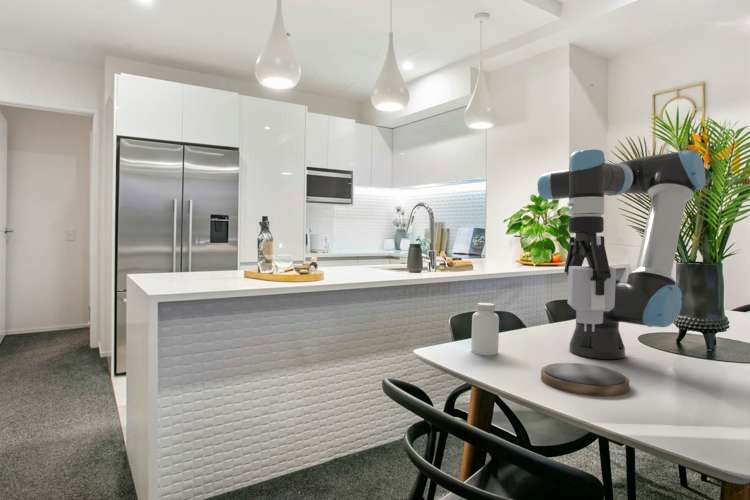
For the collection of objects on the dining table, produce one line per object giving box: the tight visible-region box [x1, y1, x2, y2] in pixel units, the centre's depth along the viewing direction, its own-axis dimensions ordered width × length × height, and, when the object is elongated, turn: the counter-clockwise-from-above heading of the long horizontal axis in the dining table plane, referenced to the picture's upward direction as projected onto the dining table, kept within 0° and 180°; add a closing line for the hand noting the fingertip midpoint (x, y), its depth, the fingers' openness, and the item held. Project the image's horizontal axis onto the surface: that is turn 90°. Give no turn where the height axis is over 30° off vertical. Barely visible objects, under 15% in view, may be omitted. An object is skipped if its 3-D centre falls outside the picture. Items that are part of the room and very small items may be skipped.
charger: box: [566, 265, 617, 332], centre depth 102 cm, size 5×9×15 cm, turn 82°
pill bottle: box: [470, 302, 500, 356], centre depth 135 cm, size 8×8×15 cm
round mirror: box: [540, 362, 630, 397], centre depth 106 cm, size 19×19×2 cm
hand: (585, 305), depth 106 cm, fingers open, 13 cm apart
